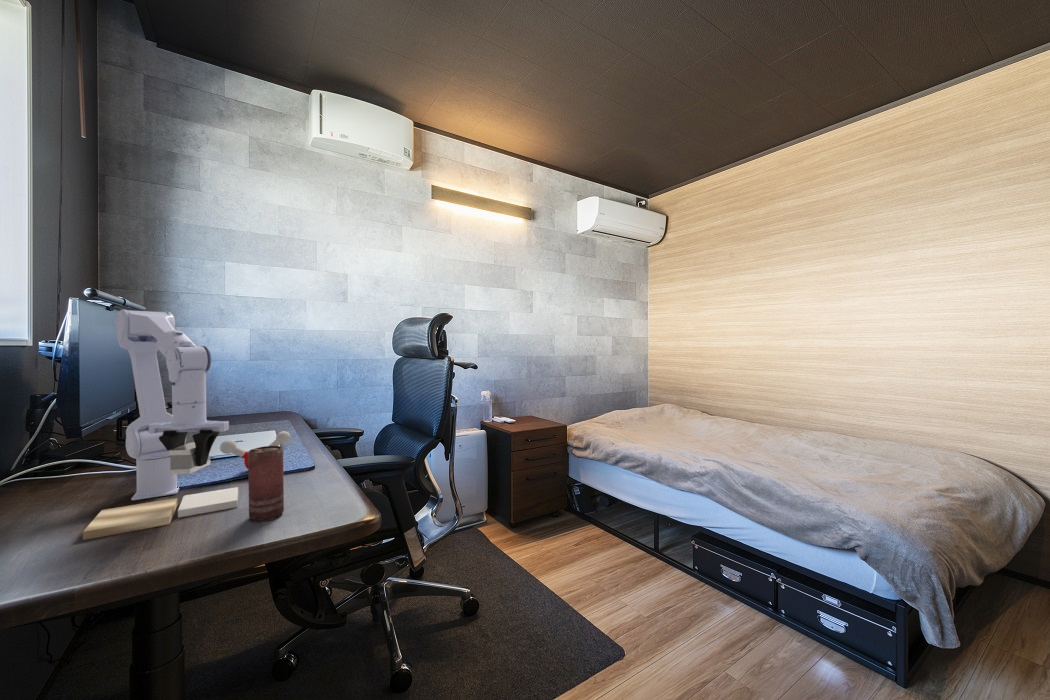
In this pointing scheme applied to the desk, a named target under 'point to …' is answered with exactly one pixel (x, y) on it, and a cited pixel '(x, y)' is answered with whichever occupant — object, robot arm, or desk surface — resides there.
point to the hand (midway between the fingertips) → (190, 465)
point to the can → (265, 483)
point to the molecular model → (231, 447)
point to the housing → (184, 459)
